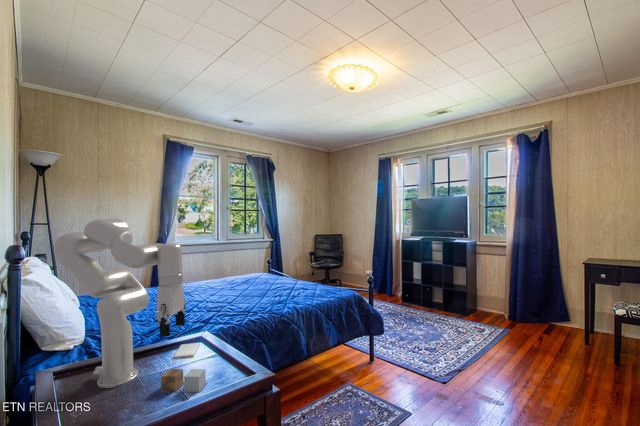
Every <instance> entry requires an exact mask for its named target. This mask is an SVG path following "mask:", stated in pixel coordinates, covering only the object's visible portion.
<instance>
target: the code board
mask: <svg viewBox="0 0 640 426" xmlns="http://www.w3.org/2000/svg"><path fill="white" fill-rule="evenodd" d="M207 384H208V382H206V384H205V385H204V386H203V388H202V389H201V390H200V391H199V392H184V390H183V391H182V393H183V394H186V393H187V394H200V393H201V392H202V391H203V390H204V389H205V388H206V386H207ZM182 387H184V382H183V384H182V385H181V387H180V388H179V389H178V390H177V391H176V392H172V391H161V390H160V391H159V393H175V394H176V393H178V391H179V390H180V389H182Z"/></svg>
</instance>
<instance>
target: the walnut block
mask: <svg viewBox="0 0 640 426" xmlns="http://www.w3.org/2000/svg"><path fill="white" fill-rule="evenodd" d="M183 383H184V369H183V368H168V369H167V370H166V371H165V372H164V373H163V374H161V376H160V391H172V392H176V391H177V390H178V389H179V388H180V387H181V385H182V384H183ZM181 388H182V387H181ZM181 388H180V389H181ZM180 389H179V390H180ZM179 390H178V391H179ZM178 391H177V392H178ZM177 392H176V393H177Z"/></svg>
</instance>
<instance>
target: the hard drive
mask: <svg viewBox="0 0 640 426" xmlns="http://www.w3.org/2000/svg"><path fill="white" fill-rule="evenodd" d="M200 345H201V343H200V342H194V343H183V344H180V345H179V348H177V351H176V352H175V353H174V355H173V356H172V359H173V360H179V359H188V358H194V357H195V355H196V353H197V351H198V350H199V347H200Z"/></svg>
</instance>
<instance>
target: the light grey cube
mask: <svg viewBox="0 0 640 426" xmlns="http://www.w3.org/2000/svg"><path fill="white" fill-rule="evenodd" d="M206 379H207V377H206V368H191V369H189V371H188V372H187V373H186V374H185V375H183V383H184V385H183V387H184V388H183V389H184V390H183V391H184V392H199V391H200V390H201V389H202V388H203V386H204V385H205V384H206V383H207V382H206ZM203 389H204V388H203Z"/></svg>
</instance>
